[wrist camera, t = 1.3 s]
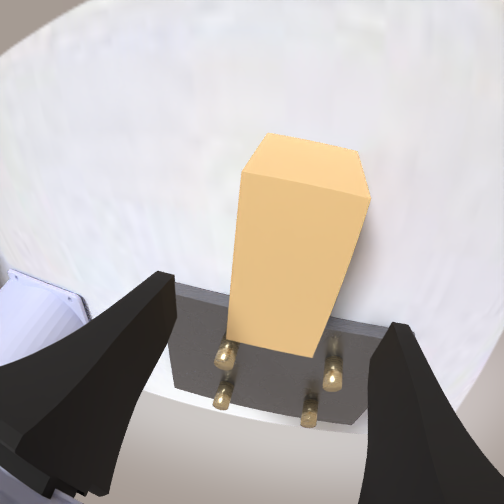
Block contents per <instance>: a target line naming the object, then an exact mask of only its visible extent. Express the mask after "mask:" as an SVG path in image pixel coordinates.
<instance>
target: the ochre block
mask: <svg viewBox="0 0 504 504" xmlns="http://www.w3.org/2000/svg"><path fill="white" fill-rule="evenodd" d="M370 200H371V197H370V193H369V190H368V186H367V182H366V179H365V175H364V172H363V168H362V165H361V161H360V158H359V155H358V152H357V151H354V150H350V149H346V148H341V147H337V146H333V145H328V144H324V143H319V142H314V141H309V140H304V139H299V138H294V137H289V136H283V135H278V134H272V133H267V135H266V136H265V137H264V139H263V140H262V142H261V143H260V145H259V146H258V148H257V149H256V151H255V152H254V154H253V155H252V157H251V158H250V160H249V161H248V163H247V164H246V166H245V167H244V169H243V170H242V173H241V183H240V192H239V202H238V212H237V222H236V233H235V243H234V254H233V265H232V276H231V287H230V298H229V309H228V321H227V333H226V339H228V340H232V341H236V342H240V343H245V344H249V345H253V346H258V347H262V348H267V349H271V350H276V351H280V352H285V353H290V354H295V355H300V356H305V357H310V358H312V357H313V355H314V352H315V350H316V348H317V345H318V343H319V341H320V338H321V336H322V333H323V331H324V329H325V326H326V324H327V321H328V319H329V316H330V314H331V311H332V309H333V306H334V304H335V301H336V298H337V296H338V293H339V291H340V288H341V285H342V283H343V280H344V277H345V274H346V272H347V269H348V266H349V263H350V261H351V258H352V255H353V252H354V249H355V246H356V243H357V240H358V237H359V234H360V231H361V228H362V225H363V222H364V219H365V216H366V213H367V210H368V207H369V204H370Z"/></svg>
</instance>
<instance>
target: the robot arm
mask: <svg viewBox="0 0 504 504" xmlns="http://www.w3.org/2000/svg"><path fill="white" fill-rule="evenodd" d="M8 276H9V278H10V279H9V280H8V281H7V282H6V284H5V285H4V286H3V287H2V288H1V289H0V504H84V503H82V502H80V501H78V500H76V499H74V497H75V495H76V493H79V494H81V495H83V496H86V495H87V493H88V491H89V492H91V493H93V494H95V495H97V496H99V497H100V496H104V495H107V494H109V490H110V485H111V481H112V477H113V473H114V469H115V465H116V462H117V458H118V455H119V451H120V448H121V445H122V442H123V439H124V436H125V433H126V430H127V427H128V424H129V421H130V419H131V416H132V413H133V411H134V408H135V405H136V403H137V401H138V398H139V396H140V394H141V392H142V390H143V388H144V386H145V385H146V383H147V381H148V379H149V377H150V375H151V373H152V371H153V369H154V368H155V366H156V364H157V362H158V360H159V358H160V356H161V354H162V352H163V351H164V349H165V347H166V345H167V343H168V340H169V338H170V335H171V333H172V330H173V328H174V325H175V322H176V320H177V306H176V292H175V276H174V275H172V274H168V273H164V272H161V271H157V272H155V273H154V274H152V275H151V276H150V277H149V278H147V279H146V280H145V281H143V282H142V283H141V284H140V285H138V286H137V287H136V288H134V289H133V290H132V291H131V292H129V293H128V294H127V295H126V296H124V297H123V298H122V299H120V300H119V301H118V302H116V303H115V304H114V305H112V306H111V307H110V308H108V309H107V310H106V311H104V312H103V313H101V314H100V315H98V316H97V317H95V318H94V319H93V320H91V321H90V322H89V320H88V317H87V314H86V312H85V309H84V306H83V303H82V300H81V298H80V297H79V296H78V295H77V294H74V293H72V292H69V291H66V290H63V289H61V288H58V287H55V286H53V285H50V284H47V283H45V282H42V281H40V280H37V279H35V278H32V277H30V276H27V275H25V274H22V273H20V272H17V271H15V270H12V269H9V270H8ZM367 390H368V449H367V459H366V466H365V472H364V479H363V483H362V488H361V493H360V498H359V502H358V504H504V477H503V476H502V475H501V474H500V473H499V472H498V470H497V469H496V468H495V467H494V466H493V465H492V464H491V463H490V461H489V460H488V459H487V458H486V456H485V455H484V454H483V453H482V451H481V450H480V449H479V447H478V446H477V445H476V443H475V442H474V441H473V439H472V438H471V436H470V435H469V433H468V432H467V431H466V429H465V428H464V426H463V424H462V423H461V421H460V420H459V418H458V417H457V415H456V413H455V412H454V410H453V408H452V407H451V405H450V403H449V401H448V399H447V398H446V396H445V394H444V392H443V391H442V389H441V387H440V385H439V383H438V381H437V379H436V377H435V375H434V374H433V372H432V370H431V368H430V366H429V364H428V362H427V360H426V358H425V356H424V354H423V352H422V350H421V348H420V346H419V344H418V342H417V340H416V338H415V336H414V334H413V332H412V330H411V329H410V327H409V325H407V324H401V323H395V322H392V323H391V325H390V327H389V328H388V330H387V332H386V333H385V335H384V337H383V338H382V340H381V342H380V343H379V345H378V347H377V348H376V350H375V352H374V353H373V355H372V356H371V358H370V363H369V373H368V386H367Z"/></svg>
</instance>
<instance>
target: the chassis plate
mask: <svg viewBox="0 0 504 504" xmlns="http://www.w3.org/2000/svg"><path fill="white" fill-rule="evenodd" d="M175 292H176V306H177V320H176V322H175V325H174V328H173V330H172V333H171V335H170V338H169V340H168V348H169V355H170V361H171V368H172V374H173V380H174V386H175V388H177V389H181V390H184V391H187V392H191V393H194V394H198V395H201V396H205V397H209V398H212V399H214V402H213V406H214V407H215V408H217V409H219V410H227V409H228V407H229V403H232V404H236V405H240V406H244V407H249V408H253V409H258V410H262V411H267V412H272V413H277V414H282V415H288V416H293V417H299V418H301V424H300V425H301V426H303V427H306V428H313V427H315V426H316V422H317V420H318V421H325V422H332V423H339V424H348V425H352V424H353V423H354V422H355V421H356V420H357V419H358V418H359V417H360V415H361V414H362V413H363V412H364V411H365V410H366V409H367V407H368V390H367V386H368V373H369V363H370V358H371V356H372V355H373V353H374V352H375V350H376V348H377V347H378V345H379V343H380V342H381V340H382V338H383V337H384V335H385V333H386V332H387V330H388V328H387V327H382V326H376V325H370V324H365V323H360V322H354V321H349V320H344V319H338V318H333V317H329V319H328V321H327V324H326V326H325V329H324V331H323V333H322V336H321V338H320V341H319V343H318V345H317V348H316V350H315V352H314V355H313V357H312V358H310V357H305V356H300V355H295V354H290V353H285V352H280V351H276V350H271V349H267V348H262V347H258V346H253V345H249V344H245V343H240V342H236V341H232V340H228V339H226V333H227V321H228V309H229V298H230V295H226V294H222V293H218V292H213V291H209V290H205V289H201V288H197V287H193V286H189V285H185V284H181V283H177V282H175ZM413 334H414V336H415V333H414V332H413Z"/></svg>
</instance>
